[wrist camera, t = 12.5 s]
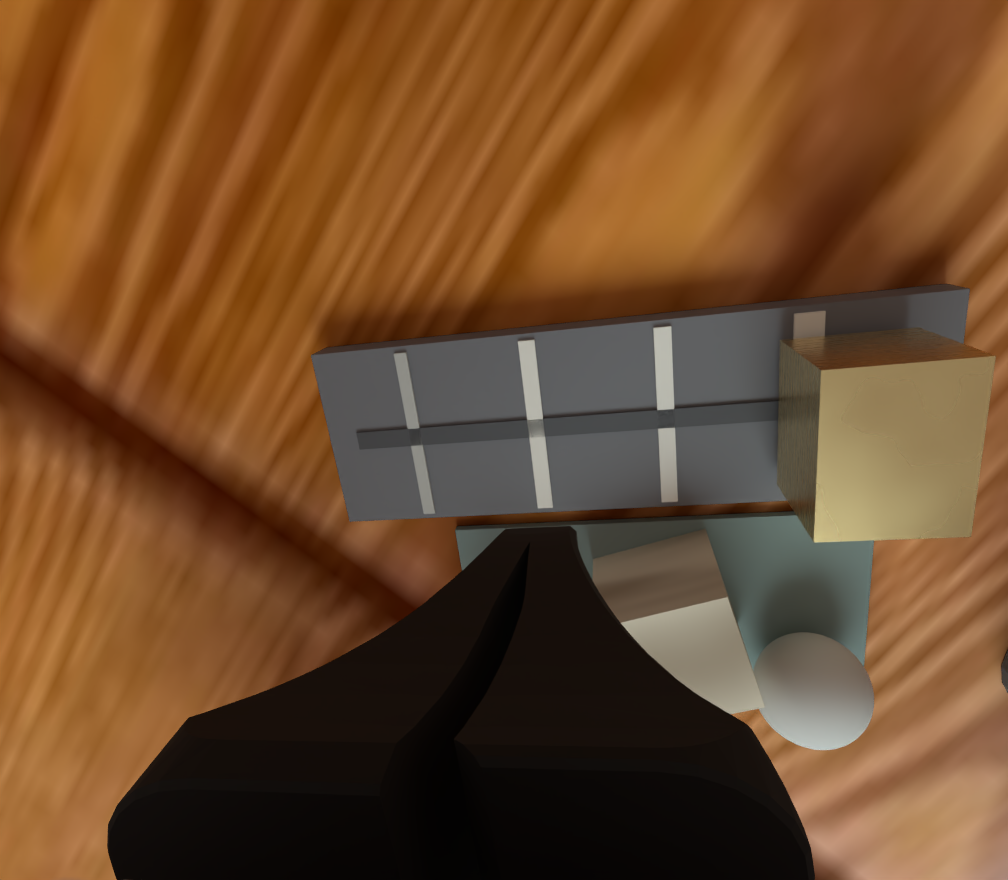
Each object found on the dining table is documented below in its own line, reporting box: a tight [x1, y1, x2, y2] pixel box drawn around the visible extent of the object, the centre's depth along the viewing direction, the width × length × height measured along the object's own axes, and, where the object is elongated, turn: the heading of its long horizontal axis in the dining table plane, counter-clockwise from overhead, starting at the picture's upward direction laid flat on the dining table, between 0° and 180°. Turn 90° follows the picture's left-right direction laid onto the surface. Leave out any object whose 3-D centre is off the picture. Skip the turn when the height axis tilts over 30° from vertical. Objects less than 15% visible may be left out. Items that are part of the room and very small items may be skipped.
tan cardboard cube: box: [777, 327, 996, 543], centre depth 16 cm, size 4×4×4 cm
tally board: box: [311, 284, 970, 522], centre depth 20 cm, size 6×19×1 cm, turn 97°
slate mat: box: [455, 511, 874, 670], centre depth 23 cm, size 8×14×1 cm, turn 97°
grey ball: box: [753, 632, 874, 750], centre depth 21 cm, size 4×4×4 cm
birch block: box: [592, 529, 765, 714], centre depth 20 cm, size 4×4×4 cm
